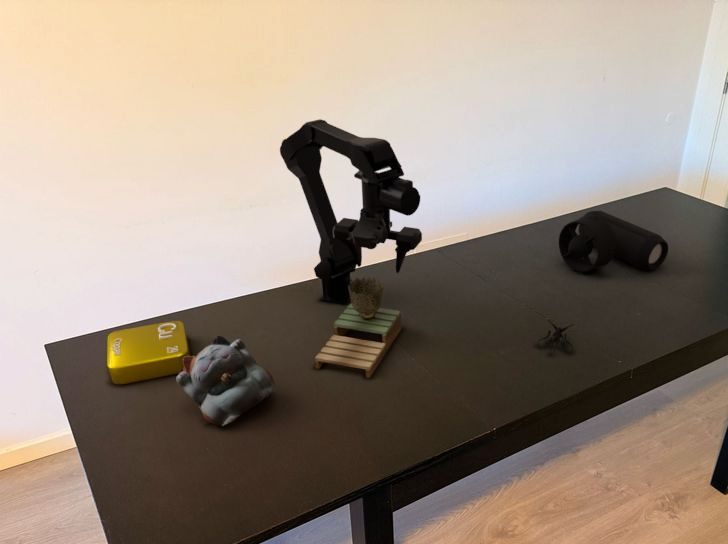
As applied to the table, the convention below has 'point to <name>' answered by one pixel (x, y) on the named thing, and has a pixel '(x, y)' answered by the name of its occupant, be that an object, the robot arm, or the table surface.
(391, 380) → the table surface
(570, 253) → the black round hollow piece
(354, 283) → the ornate brown dome cover
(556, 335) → the creature
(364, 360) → the rack
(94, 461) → the table surface
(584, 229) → the portable speaker
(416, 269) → the table surface
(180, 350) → the element tile
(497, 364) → the table surface
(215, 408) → the lucky cat figurine
